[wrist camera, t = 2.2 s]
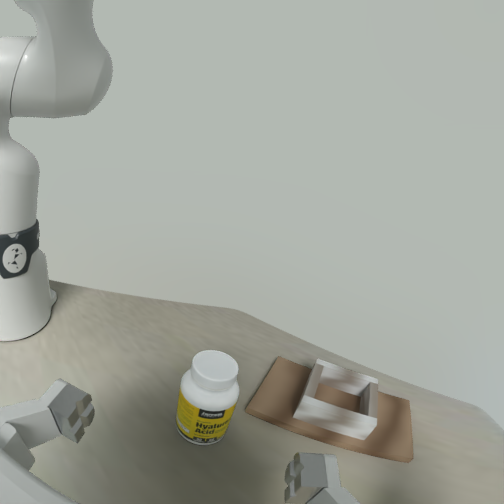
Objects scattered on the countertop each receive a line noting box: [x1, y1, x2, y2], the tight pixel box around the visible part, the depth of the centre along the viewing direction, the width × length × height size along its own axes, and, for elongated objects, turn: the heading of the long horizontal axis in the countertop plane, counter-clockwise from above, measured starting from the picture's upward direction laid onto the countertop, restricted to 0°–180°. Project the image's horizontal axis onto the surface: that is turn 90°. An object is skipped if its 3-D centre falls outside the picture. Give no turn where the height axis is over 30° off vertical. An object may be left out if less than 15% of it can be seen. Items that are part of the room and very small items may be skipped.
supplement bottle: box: [176, 350, 239, 445], centre depth 23 cm, size 5×5×10 cm
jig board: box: [245, 356, 413, 463], centre depth 30 cm, size 22×12×4 cm, turn 67°
